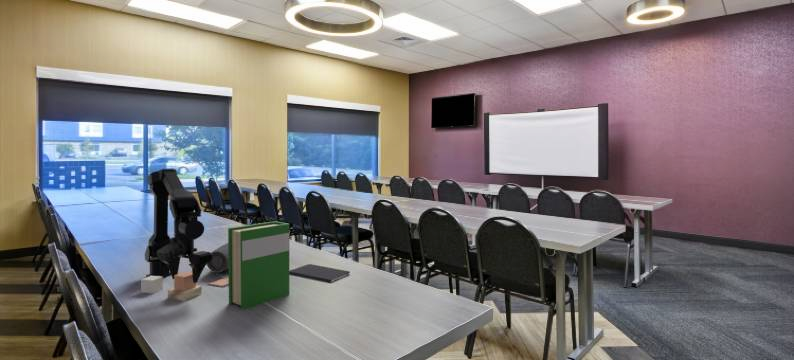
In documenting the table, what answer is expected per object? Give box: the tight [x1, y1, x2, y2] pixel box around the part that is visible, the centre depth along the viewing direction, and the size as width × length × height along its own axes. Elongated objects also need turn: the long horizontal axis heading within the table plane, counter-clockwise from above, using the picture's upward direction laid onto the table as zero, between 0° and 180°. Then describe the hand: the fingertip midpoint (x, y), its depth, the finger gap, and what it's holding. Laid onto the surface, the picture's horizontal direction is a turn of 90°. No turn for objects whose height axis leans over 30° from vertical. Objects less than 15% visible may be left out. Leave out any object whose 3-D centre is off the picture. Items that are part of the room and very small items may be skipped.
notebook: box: [289, 263, 351, 283], centre depth 165 cm, size 13×2×21 cm
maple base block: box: [167, 284, 203, 302], centre depth 138 cm, size 7×7×3 cm
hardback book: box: [227, 220, 290, 311], centre depth 135 cm, size 18×7×24 cm, turn 143°
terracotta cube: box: [173, 271, 197, 291], centre depth 138 cm, size 4×4×4 cm
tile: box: [207, 278, 229, 288], centre depth 151 cm, size 7×7×1 cm
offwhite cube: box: [140, 276, 164, 294], centre depth 142 cm, size 4×4×4 cm
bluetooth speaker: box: [206, 242, 229, 273], centre depth 172 cm, size 23×9×10 cm, turn 179°
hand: (184, 280), depth 138 cm, fingers open, 9 cm apart
